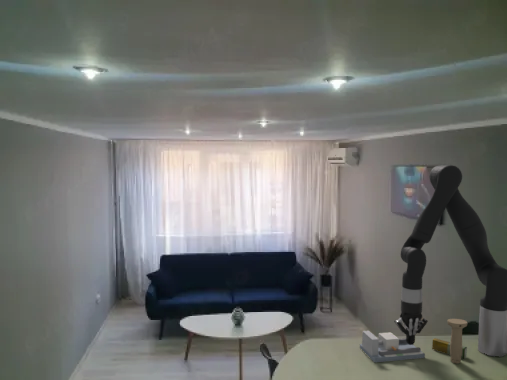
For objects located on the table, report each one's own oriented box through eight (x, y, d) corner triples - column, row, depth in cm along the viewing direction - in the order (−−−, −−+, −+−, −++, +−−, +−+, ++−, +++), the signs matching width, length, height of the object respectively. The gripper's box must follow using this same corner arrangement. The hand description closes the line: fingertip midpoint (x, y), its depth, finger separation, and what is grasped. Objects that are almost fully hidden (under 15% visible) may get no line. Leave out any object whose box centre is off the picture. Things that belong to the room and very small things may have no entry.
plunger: (390, 345, 167) (390, 332, 167) (401, 354, 159) (402, 341, 159) (370, 346, 166) (371, 333, 165) (381, 356, 158) (381, 342, 157)
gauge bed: (407, 344, 172) (407, 325, 172) (424, 357, 161) (425, 337, 160) (359, 347, 168) (360, 328, 168) (374, 362, 157) (374, 341, 156)
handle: (467, 365, 155) (469, 324, 154) (449, 365, 155) (451, 323, 154) (461, 358, 160) (463, 318, 159) (443, 358, 160) (445, 318, 159)
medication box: (467, 357, 162) (467, 346, 161) (464, 359, 160) (465, 348, 159) (434, 347, 170) (434, 337, 170) (431, 349, 168) (432, 339, 168)
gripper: (421, 295, 169) (420, 338, 171) (390, 297, 167) (389, 341, 168) (433, 301, 162) (431, 346, 163) (400, 303, 159) (399, 349, 161)
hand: (410, 343), depth 166 cm, fingers closed
